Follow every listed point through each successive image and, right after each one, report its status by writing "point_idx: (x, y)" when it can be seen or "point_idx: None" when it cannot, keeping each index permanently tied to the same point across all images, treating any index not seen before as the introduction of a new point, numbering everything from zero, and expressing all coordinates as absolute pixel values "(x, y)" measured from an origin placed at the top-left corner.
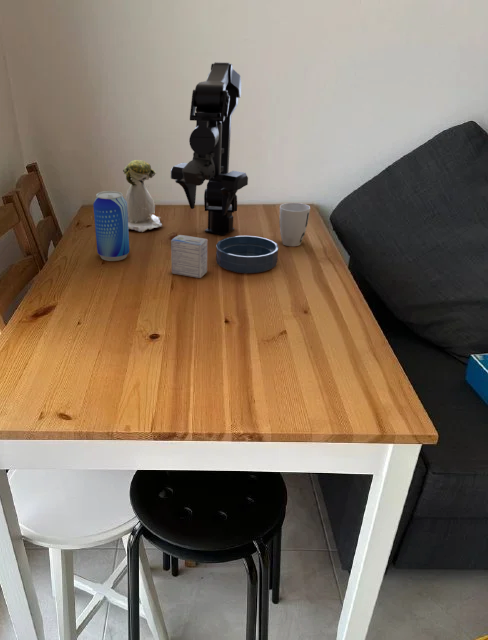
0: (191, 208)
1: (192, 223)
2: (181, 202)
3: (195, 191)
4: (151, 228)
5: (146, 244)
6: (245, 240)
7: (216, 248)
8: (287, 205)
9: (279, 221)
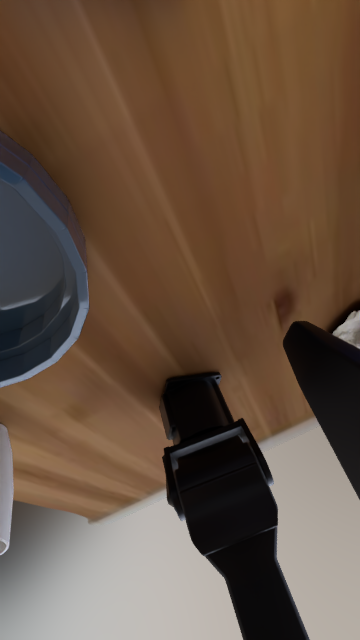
0: (300, 321)
1: (259, 388)
2: (298, 431)
3: (351, 468)
4: (349, 316)
5: (357, 225)
6: (29, 358)
7: (53, 205)
8: (3, 543)
9: (2, 481)
